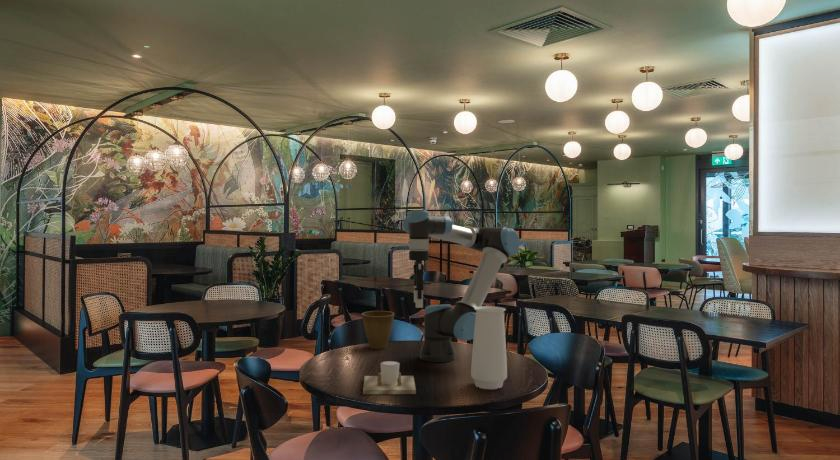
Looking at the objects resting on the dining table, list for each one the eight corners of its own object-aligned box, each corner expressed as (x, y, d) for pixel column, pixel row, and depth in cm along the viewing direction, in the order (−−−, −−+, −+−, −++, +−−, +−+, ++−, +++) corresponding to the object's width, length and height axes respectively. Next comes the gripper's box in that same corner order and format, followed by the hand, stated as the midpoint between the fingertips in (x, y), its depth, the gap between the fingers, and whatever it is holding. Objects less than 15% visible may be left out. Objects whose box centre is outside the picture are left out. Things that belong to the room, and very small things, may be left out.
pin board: (413, 379, 222) (413, 369, 222) (415, 394, 204) (415, 382, 204) (364, 379, 221) (364, 369, 221) (362, 394, 203) (363, 382, 203)
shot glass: (402, 381, 214) (402, 361, 214) (395, 386, 208) (395, 366, 208) (384, 379, 217) (384, 360, 216) (377, 384, 210) (377, 364, 210)
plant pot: (365, 343, 284) (366, 310, 284) (396, 344, 282) (396, 311, 282) (358, 350, 269) (358, 315, 269) (390, 351, 267) (390, 316, 267)
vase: (497, 392, 206) (498, 312, 206) (464, 386, 213) (465, 309, 213) (512, 384, 217) (513, 307, 217) (480, 378, 224) (481, 304, 224)
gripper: (407, 248, 242) (407, 300, 242) (410, 251, 217) (409, 309, 217) (426, 248, 242) (425, 300, 243) (430, 252, 217) (430, 309, 218)
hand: (418, 305), depth 230 cm, fingers open, 13 cm apart
